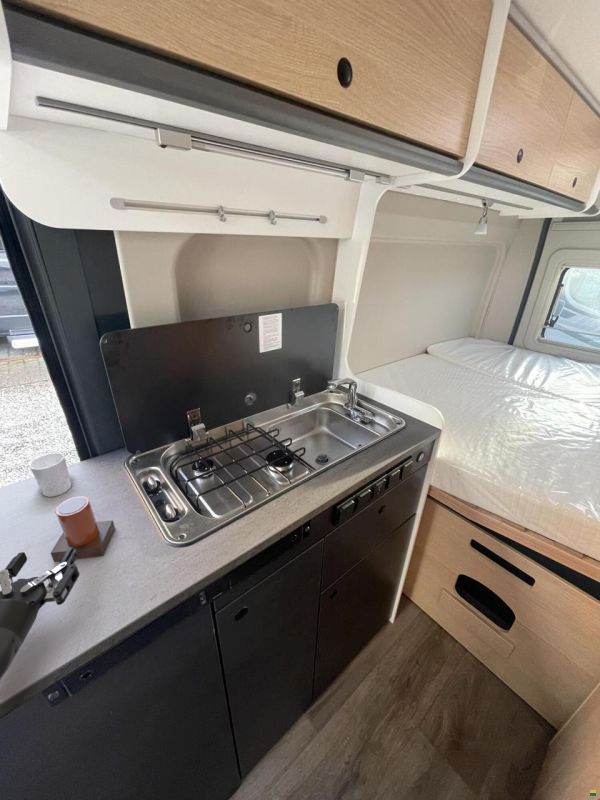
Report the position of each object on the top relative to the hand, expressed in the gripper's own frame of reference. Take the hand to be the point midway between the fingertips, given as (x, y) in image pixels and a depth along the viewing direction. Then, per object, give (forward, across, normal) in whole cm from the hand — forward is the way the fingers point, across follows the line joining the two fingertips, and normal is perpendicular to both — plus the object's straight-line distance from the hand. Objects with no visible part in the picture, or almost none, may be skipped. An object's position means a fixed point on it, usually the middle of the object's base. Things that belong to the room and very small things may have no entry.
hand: (48, 552), depth 62 cm
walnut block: (+11, 0, +11) cm, 16 cm away
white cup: (+34, +17, +11) cm, 40 cm away
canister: (+11, 0, +7) cm, 13 cm away
